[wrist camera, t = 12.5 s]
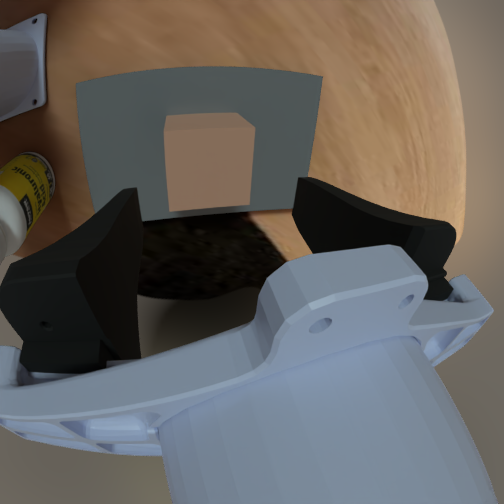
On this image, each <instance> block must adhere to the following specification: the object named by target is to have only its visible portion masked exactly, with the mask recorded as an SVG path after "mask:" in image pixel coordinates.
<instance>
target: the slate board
mask: <svg viewBox="0 0 504 504" xmlns="http://www.w3.org/2000/svg"><path fill="white" fill-rule="evenodd" d="M322 78H323V77H322V76H317V75H311V74H305V73H298V72H290V71H282V70H273V69H262V68H247V67H180V68H166V69H155V70H146V71H138V72H131V73H124V74H118V75H113V76H107V77H102V78H97V79H93V80H88V81H84V82H80V83H76V95H77V109H78V119H79V128H80V136H81V144H82V151H83V157H84V163H85V169H86V174H87V179H88V184H89V189H90V194H91V198H92V202H93V207H94V211H95V213H97V212H98V211H99V210H100V209H101V208H102V207H103V206H105V205H106V204H107V203H108V202H109V201H110V200H111V199H112V198H113V197H114V196H115V195H116V194H118V193H119V192H120V191H121V190H123V189H127V188H134V187H137V190H138V198H139V204H140V211H141V217H142V221H149V220H158V219H167V218H177V217H187V216H197V215H208V214H220V213H232V212H245V211H259V210H275V209H292V208H293V205H294V199H295V193H296V187H297V181H298V177H307V176H308V171H309V165H310V159H311V153H312V147H313V141H314V134H315V128H316V121H317V115H318V108H319V101H320V93H321V86H322ZM199 113H238V114H239V115H240V116H242V117H243V118H244V119H245V120H247V121H248V122H249V123H250V124H252V125H253V126H254V127H255V139H254V152H253V165H252V179H251V192H250V205H240V206H227V207H214V208H203V209H192V210H182V211H172V212H169V202H168V191H167V179H166V166H165V149H164V127H165V121H166V116H169V115H182V114H199Z"/></svg>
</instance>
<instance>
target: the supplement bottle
mask: <svg viewBox="0 0 504 504" xmlns="http://www.w3.org/2000/svg"><path fill="white" fill-rule="evenodd" d="M54 189H55V177H54V173H53V170H52V168H51V166H50V164H49V163H48V161H47V160H46V159H45V158H44V157H43V156H41V155H40V154H38V153H35V152H25V153H22V154H19V155H18V156H16V157H15V158H13V159H12V160H11V161H10V162H8V163H7V164H6V165H5V166H4V167H2V168H1V169H0V264H1V263H2V261H3V260H4V258H5V257H6V256H9V255H12V254H13V253H15V252H16V251H17V250H18V249H19V248H20V247H21V245H22V244H23V242H24V240H25V239H26V237H27V235H28V234H29V232H30V230H31V229H32V227H33V226H34V224H35V222H36V221H37V219H38V218H39V216H40V215H41V213H42V212H43V210H44V209H45V207H46V206H47V204H48V203H49V201H50V199H51V198H52V196H53V193H54Z"/></svg>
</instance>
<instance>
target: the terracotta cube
mask: <svg viewBox="0 0 504 504" xmlns="http://www.w3.org/2000/svg"><path fill="white" fill-rule="evenodd" d="M254 139H255V127H254V126H253V125H252V124H250V123H249V122H248V121H247V120H245V119H244V118H243V117H242V116H240V115H239V114H238V113H199V114H182V115H169V116H166V121H165V127H164V149H165V166H166V179H167V191H168V202H169V212H172V211H182V210H192V209H203V208H214V207H227V206H240V205H250V192H251V179H252V165H253V152H254Z"/></svg>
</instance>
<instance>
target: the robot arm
mask: <svg viewBox="0 0 504 504" xmlns="http://www.w3.org/2000/svg"><path fill="white" fill-rule="evenodd" d="M36 19H37V22H36V23H35V24H34V21H35V20H36ZM46 24H47V15H46V14H44V13H41V14H38V15H36V16H34V17H31V18H29V19H27V20H25V21H22V22H20V23H18V24H16V25H14V26H12V27H10V28H8V29H6V30H0V122H1V121H3V120H5V119H8V118H10V117H13V116H15V115H18V114H20V113H23V112H26V111H29V110H31V109H34V108H37V107H40V106H42V105H44V104H45V103H46V82H45V39H46ZM35 99H36V100H37V104H36V105H35V104H34V100H35ZM292 216H293V219H294V221H295V224H296V226H297V228H298V230H299V232H300V234H301V235H302V237H303V239H304V240H305V242H306V243H307V245H308V247H309V248H310V250H311V251H312V253H313V254H310V255H306V256H303V257H300V258H297V259H294V260H291V261H288V262H286V263H285V264H283V265H282V266H281V267H280V268H279V269H277V270H276V271H275V272H274V273H272V274H271V275H270V276H269V277H268V278H267V279H266V281H265V283H264V285H263V287H262V289H261V291H260V294H259V296H258V303H257V310H256V315H255V318H254V320H252V321H251V322H249V323H247V324H244V325H241V326H239V327H236V328H233V329H230V330H228V331H225V332H222V333H219V334H216V335H213V336H211V337H208V338H205V339H202V340H199V341H196V342H193V343H190V344H187V345H184V346H181V347H177V348H174V349H171V350H168V351H165V352H162V353H158V354H155V355H152V356H149V357H145V358H141V352H140V343H139V331H138V315H137V314H138V313H137V288H138V279H139V271H140V263H141V256H142V249H143V223H142V217H141V211H140V204H139V198H138V190H137V187H134V188H127V189H123V190H121V191H120V192H119V193H118V194H116V195H115V196H114V197H113V198H112V199H111V200H110V201H109V202H108V203H107V204H106V205H105V206H103V207H102V208H101V209H100V210H99V211H98V212H97V213H95V214H94V215H93V216H92V217H91V218H90V219H89V220H87V221H86V222H85V223H84V224H82V225H81V226H79V227H78V228H77V229H75V230H74V231H73V232H71V233H70V234H68V235H66V236H65V237H63V238H62V239H60V240H58V241H57V242H55V243H53V244H52V245H50V246H48V247H46V248H44V249H42V250H40V251H38V252H36V253H34V254H32V255H30V256H28V257H25V258H23V259H21V260H18V261H16V262H14V263H11V264H10V266H9V268H8V270H7V273H6V275H5V277H4V279H3V281H2V283H1V286H0V309H1V311H2V313H3V314H4V316H5V318H6V319H7V320H8V322H9V323H10V324H11V326H12V327H13V328H14V330H15V331H16V332H17V334H18V335H19V336H20V337H21V339H22V340H23V341H24V342H23V346H22V350H20V349H19V348H17V347H14V346H2V345H0V425H1V426H3V427H4V428H6V429H8V430H9V431H11V432H13V433H15V434H16V435H18V436H20V437H22V438H24V439H28V440H32V441H37V442H41V443H46V444H51V445H56V446H62V447H67V448H73V449H79V450H86V451H93V452H100V453H109V454H121V455H137V456H163V461H164V467H165V472H166V477H167V482H168V486H169V491H170V494H171V499H172V503H173V504H499V503H498V501H497V499H496V497H495V494H494V490H493V487H492V484H491V481H490V479H489V476H488V474H487V471H486V469H485V466H484V464H483V462H482V459H481V457H480V455H479V452H478V450H477V448H476V446H475V444H474V441H473V439H472V437H471V435H470V433H469V431H468V429H467V427H466V425H465V423H464V421H463V419H462V417H461V415H460V413H459V411H458V410H457V408H456V406H455V404H454V402H453V400H452V398H451V397H450V395H449V393H448V391H447V390H446V388H445V386H444V384H443V383H442V381H441V379H440V377H439V376H438V374H437V372H436V371H435V369H434V367H435V366H436V365H438V364H439V363H440V362H442V361H443V360H444V359H446V358H448V357H449V356H450V355H452V354H453V353H455V352H456V351H458V350H459V349H460V348H462V347H463V346H465V345H466V344H467V342H468V341H469V340H470V339H471V338H472V337H473V336H474V335H475V334H476V332H477V331H478V330H479V329H480V328H481V327H482V325H483V324H484V323H485V322H486V321H487V319H488V318H489V317H490V316H491V314H492V313H493V309H492V307H491V306H490V304H489V303H488V302H487V300H486V299H485V298H484V297H483V295H482V294H481V293H480V292H479V291H478V289H477V288H476V287H475V286H474V285H473V284H472V282H471V281H470V280H469V279H468V278H467V276H466V275H464V274H462V275H460V276H457V277H454V278H452V279H451V280H450V281H449V282H448V281H447V280H446V279H445V278H444V277H445V276H446V275H447V272H446V271H445V270H444V269H443V266H444V264H445V263H446V261H447V259H448V257H449V255H450V253H451V252H452V249H453V247H454V245H455V241H456V230H455V228H454V227H453V226H452V225H451V224H450V223H448V222H445V221H440V220H434V219H428V218H422V217H418V216H414V215H409V214H405V213H402V212H398V211H395V210H392V209H388V208H385V207H382V206H380V205H377V204H374V203H371V202H369V201H366V200H364V199H362V198H359V197H357V196H355V195H352V194H350V193H348V192H346V191H344V190H341V189H339V188H337V187H335V186H333V185H330V184H328V183H326V182H323V181H321V180H318V179H315V178H311V177H298V181H297V187H296V193H295V199H294V205H293V211H292Z"/></svg>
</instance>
